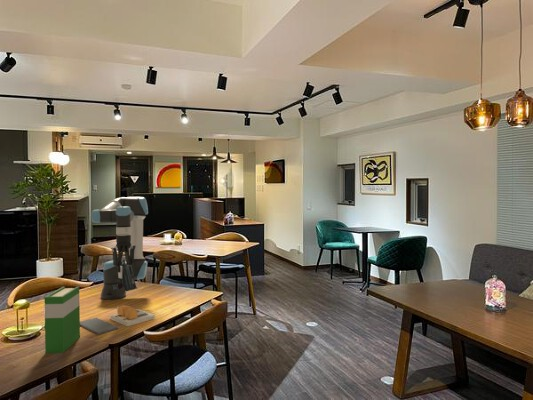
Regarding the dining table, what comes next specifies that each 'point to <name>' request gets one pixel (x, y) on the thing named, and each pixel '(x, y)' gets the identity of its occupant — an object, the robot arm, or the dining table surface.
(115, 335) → the dining table surface
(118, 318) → the light grey tray
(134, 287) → the gun
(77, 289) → the hardback book
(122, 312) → the orange wooden block
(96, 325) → the mat
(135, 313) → the orange block
